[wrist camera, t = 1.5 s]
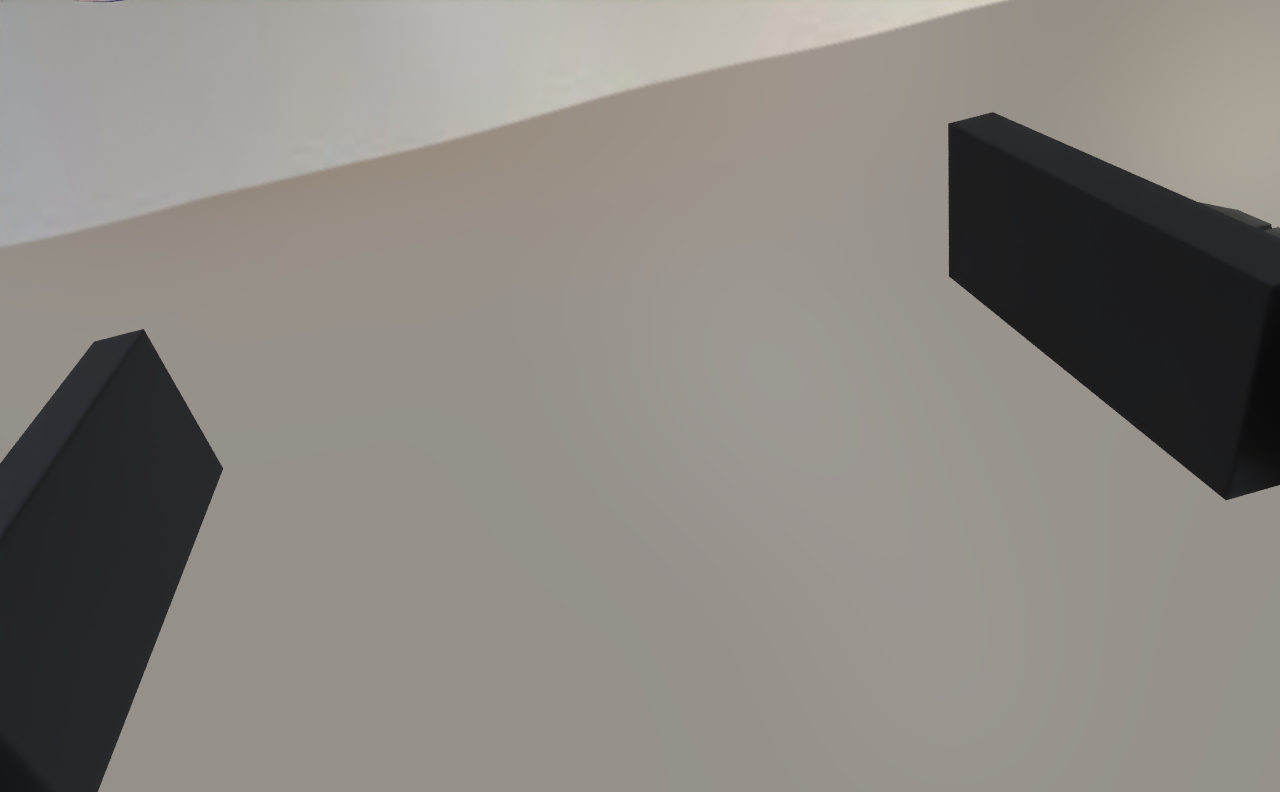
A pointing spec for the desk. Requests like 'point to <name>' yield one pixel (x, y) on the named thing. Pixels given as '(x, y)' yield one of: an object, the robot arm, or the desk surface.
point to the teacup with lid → (99, 0)
